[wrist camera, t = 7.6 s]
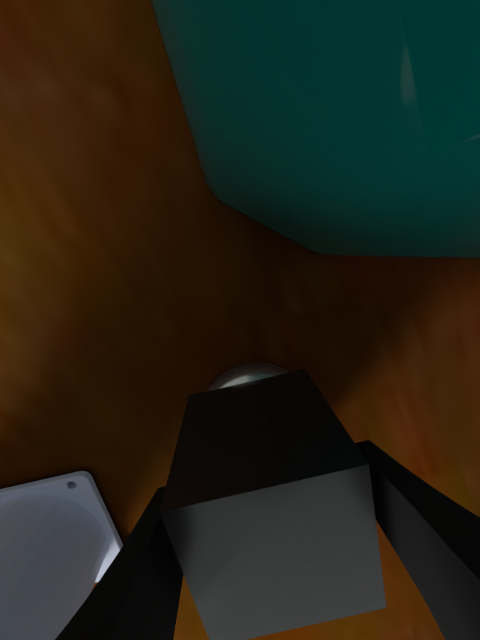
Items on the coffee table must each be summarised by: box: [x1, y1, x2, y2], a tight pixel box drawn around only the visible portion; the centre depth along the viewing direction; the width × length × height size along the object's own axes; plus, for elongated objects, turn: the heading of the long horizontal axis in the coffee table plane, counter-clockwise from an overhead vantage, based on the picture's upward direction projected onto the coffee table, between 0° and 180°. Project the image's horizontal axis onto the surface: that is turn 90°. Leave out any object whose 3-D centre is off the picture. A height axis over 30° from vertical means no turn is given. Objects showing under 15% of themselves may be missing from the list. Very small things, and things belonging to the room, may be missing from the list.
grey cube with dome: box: [159, 369, 386, 640], centre depth 10 cm, size 6×6×6 cm
